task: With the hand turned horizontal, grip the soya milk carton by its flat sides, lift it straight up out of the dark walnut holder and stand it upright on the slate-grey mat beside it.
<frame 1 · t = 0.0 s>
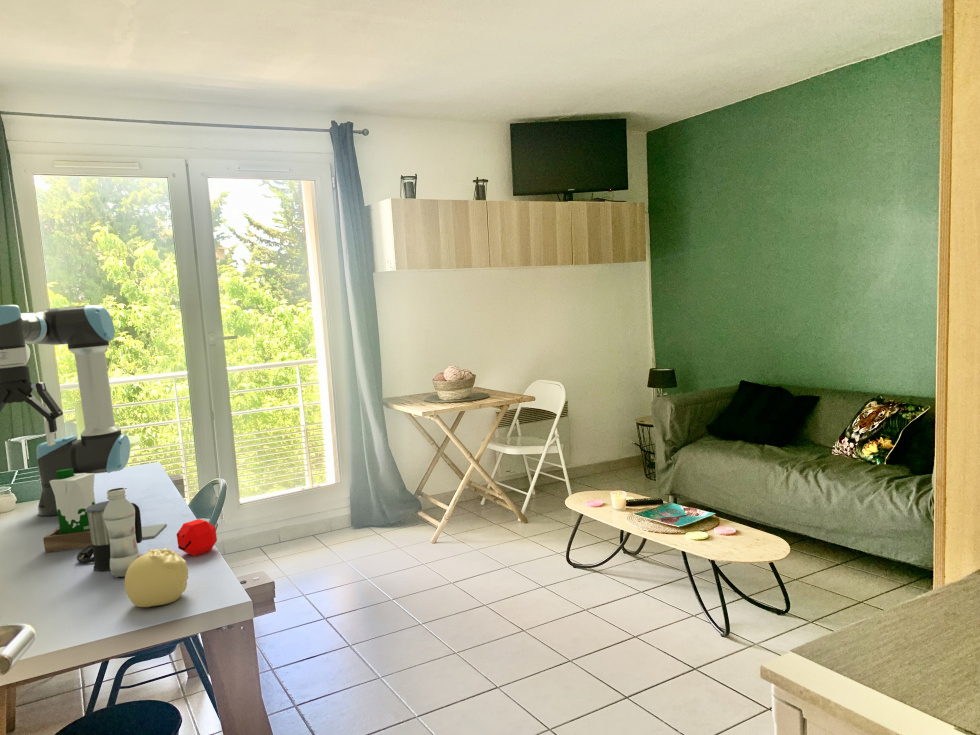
hand: (23, 448, 188), 28 cm above the table, tool pointing down, fingers open, 13 cm apart
ball: (199, 553, 180), on the table
milk frother: (105, 563, 179), on the table
mat: (139, 534, 201), on the table
plastic bottle: (127, 575, 168), on the table
holder: (81, 541, 199), on the table
soya milk: (81, 542, 199), resting in holder
pale yellow rounded lump: (160, 602, 150), on the table
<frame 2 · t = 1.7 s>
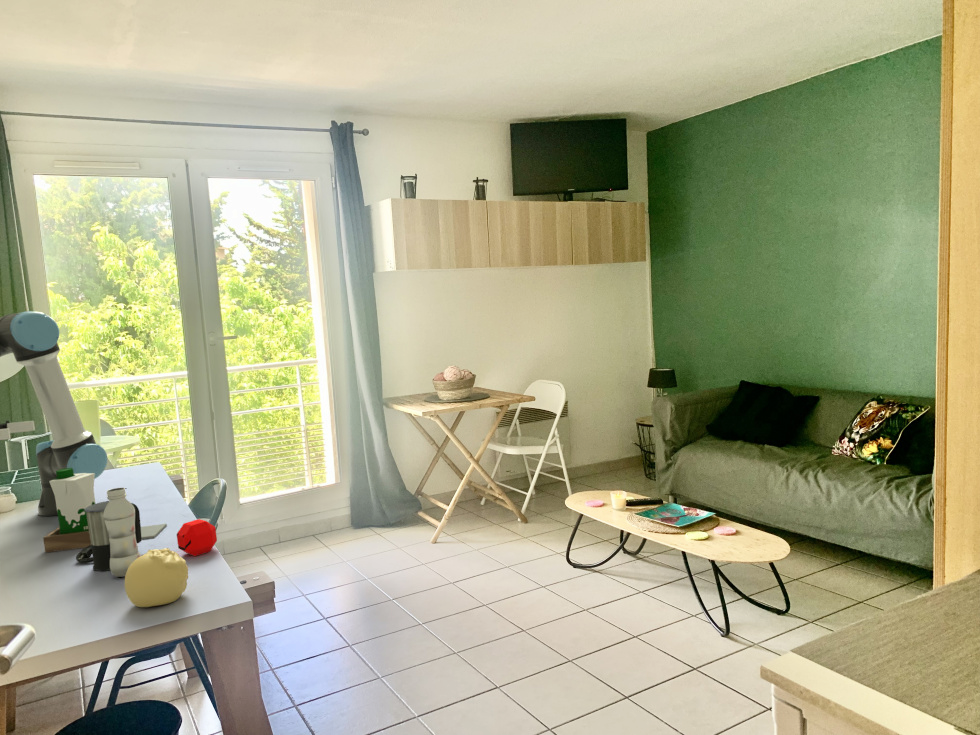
hand: (22, 429, 194), 32 cm above the table, tool horizontal, fingers open, 13 cm apart
nothing on the table moved.
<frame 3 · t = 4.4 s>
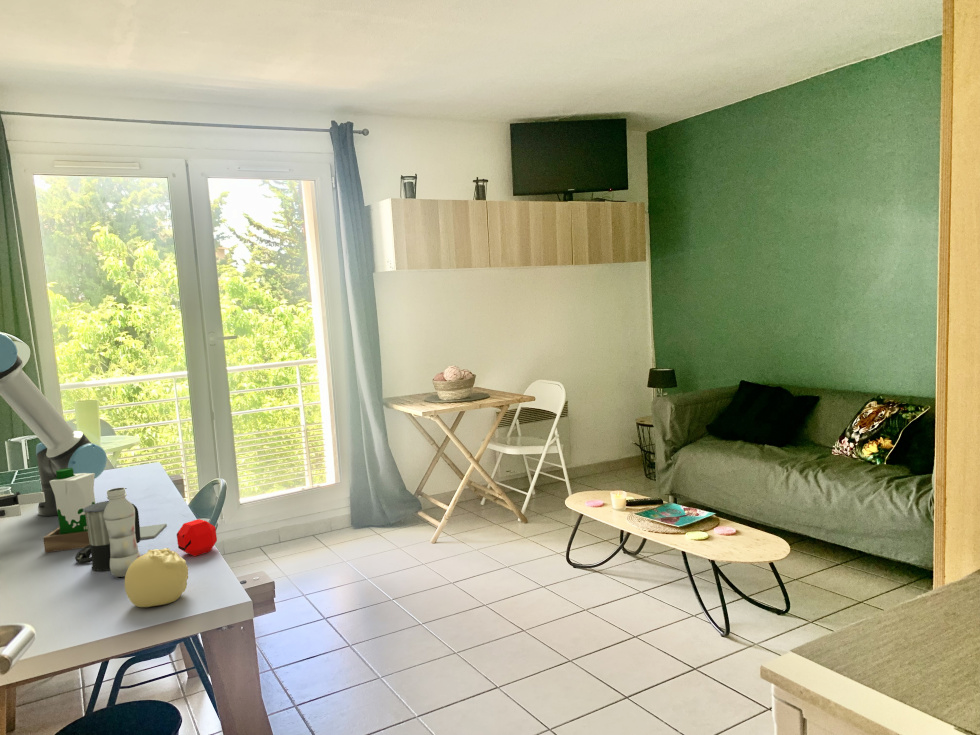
hand: (32, 503, 196), 12 cm above the table, tool horizontal, fingers open, 13 cm apart
nothing on the table moved.
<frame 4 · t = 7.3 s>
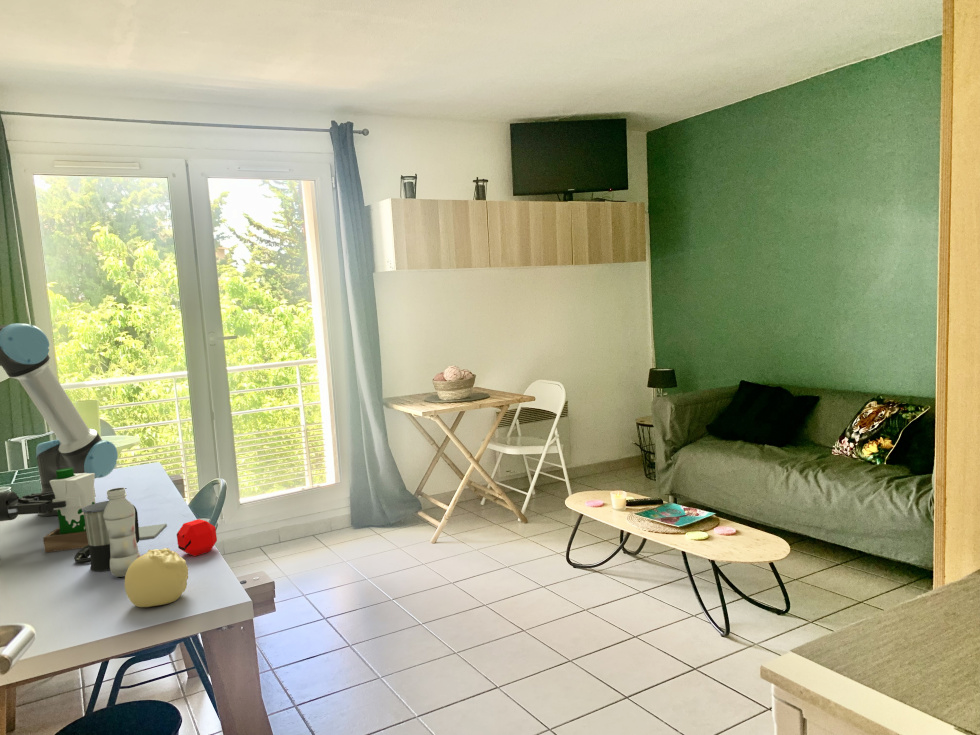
hand: (87, 496, 198), 12 cm above the table, tool horizontal, fingers closed on soya milk, 9 cm apart
soya milk: (81, 542, 199), resting in holder, touching gripper
everything else where it was.
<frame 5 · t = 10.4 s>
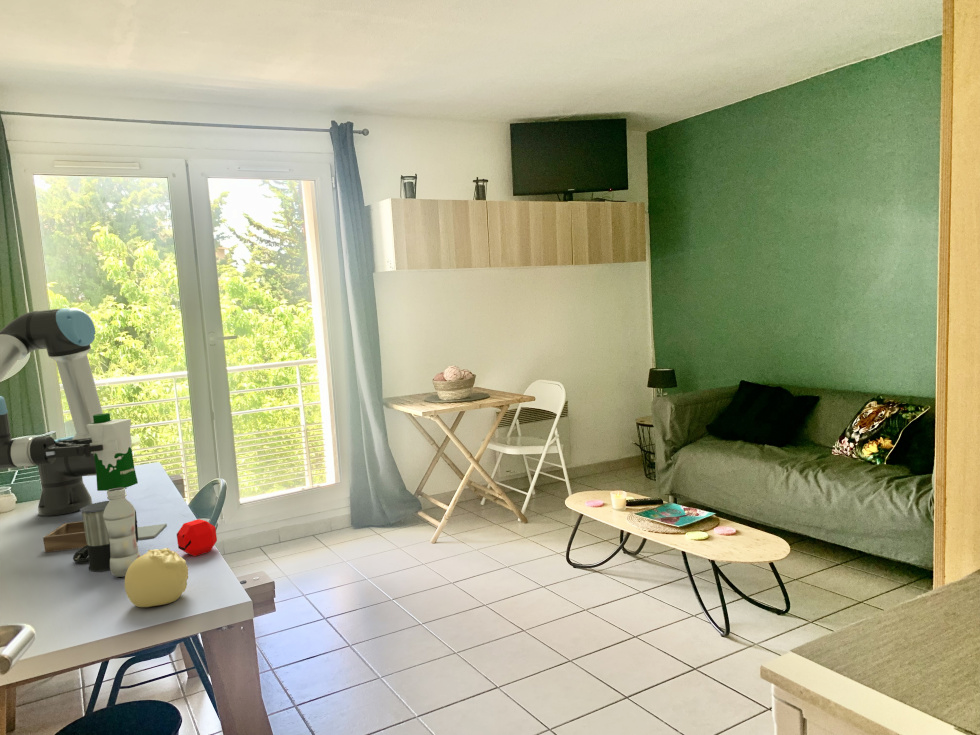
hand: (123, 442, 197), 26 cm above the table, tool horizontal, fingers closed on soya milk, 9 cm apart
soya milk: (118, 487, 198), point 14 cm above the table, touching gripper
when the fingers open (14 cm above the table, at t = 13.9 s): soya milk drops 1 cm, resting on mat.
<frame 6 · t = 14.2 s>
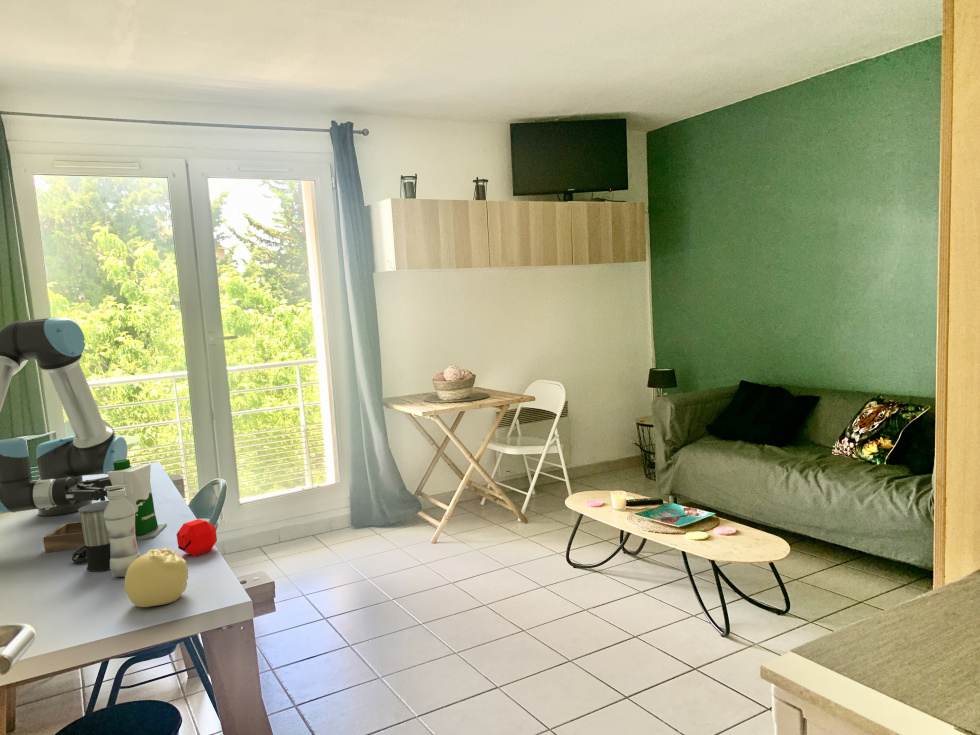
hand: (140, 483, 200), 14 cm above the table, tool horizontal, fingers open, 13 cm apart
soya milk: (139, 532, 200), resting on mat
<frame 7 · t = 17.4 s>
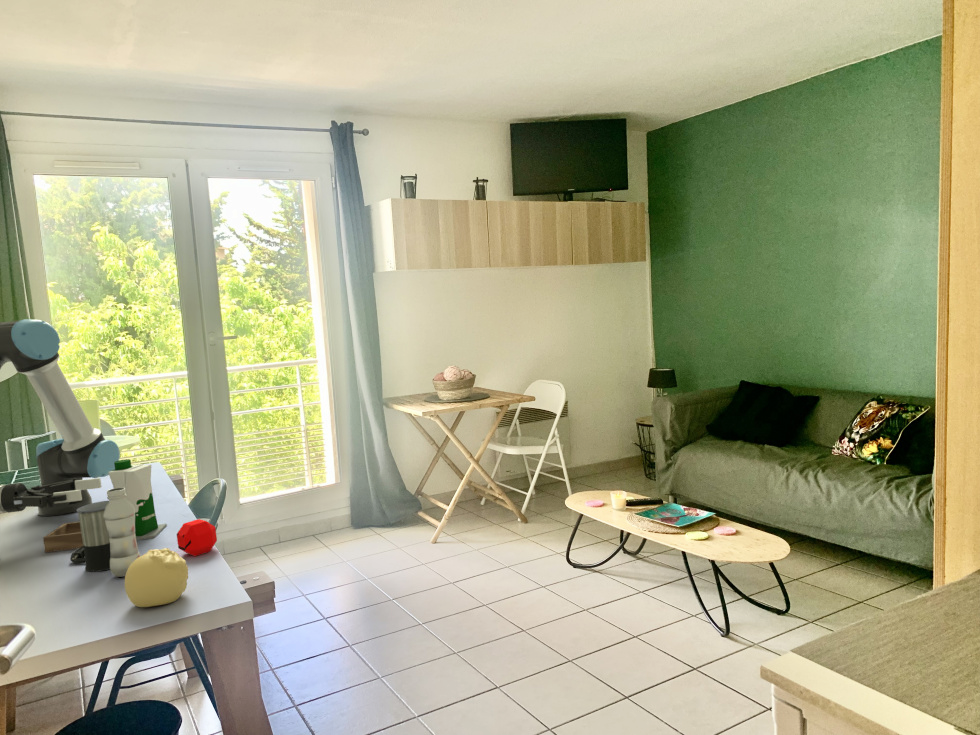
hand: (91, 488, 198), 14 cm above the table, tool horizontal, fingers open, 13 cm apart
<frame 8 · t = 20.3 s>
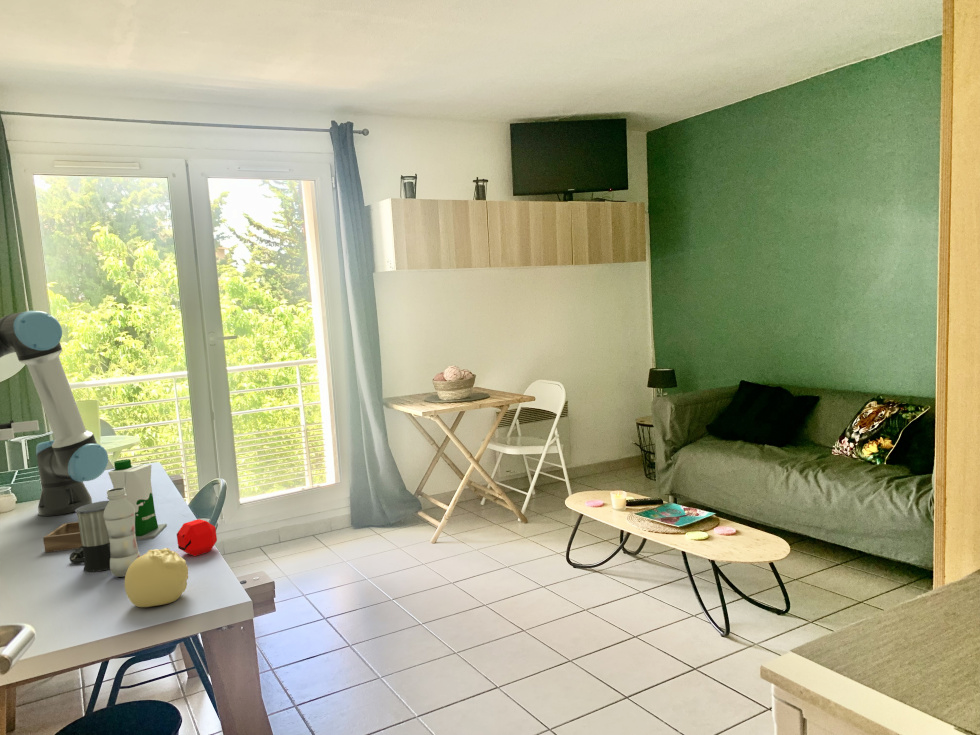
hand: (26, 429, 194), 32 cm above the table, tool horizontal, fingers open, 13 cm apart
at the end: soya milk inside the target area on the mat (0.2 cm from its centre), point 0.4 cm above the mat's base; soya milk tilted 0°; soya milk touching mat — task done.
